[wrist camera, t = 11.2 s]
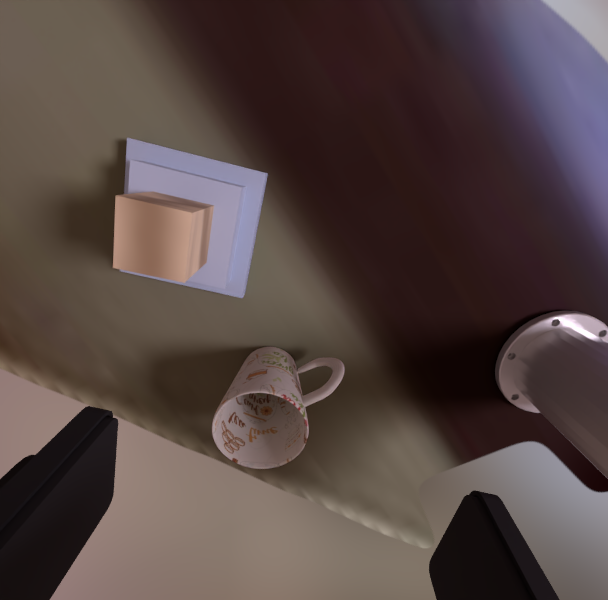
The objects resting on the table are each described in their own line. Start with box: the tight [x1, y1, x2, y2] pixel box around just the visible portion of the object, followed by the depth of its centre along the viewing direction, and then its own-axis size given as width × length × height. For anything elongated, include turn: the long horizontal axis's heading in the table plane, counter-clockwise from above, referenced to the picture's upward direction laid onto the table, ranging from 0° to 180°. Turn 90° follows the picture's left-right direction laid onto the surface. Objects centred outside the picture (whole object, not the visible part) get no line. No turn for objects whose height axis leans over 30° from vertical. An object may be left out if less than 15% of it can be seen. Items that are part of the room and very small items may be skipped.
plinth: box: [120, 138, 268, 298], centre depth 30 cm, size 12×12×4 cm
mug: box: [212, 347, 345, 469], centre depth 33 cm, size 8×13×10 cm, turn 117°
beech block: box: [113, 191, 214, 283], centre depth 26 cm, size 5×5×6 cm
